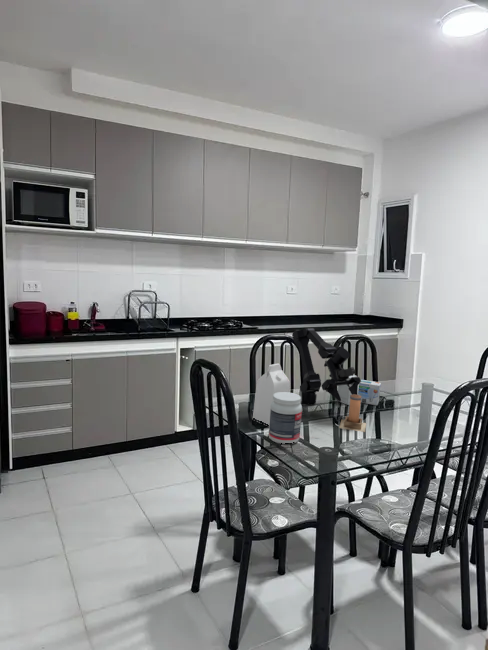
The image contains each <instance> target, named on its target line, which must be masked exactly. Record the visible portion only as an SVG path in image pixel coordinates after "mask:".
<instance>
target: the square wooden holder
mask: <svg viewBox="0 0 488 650" xmlns="http://www.w3.org/2000/svg"><path fill="white" fill-rule="evenodd" d="M348 418H349V415H345V418H344V419H340V424H339V426H338V427H339V429H342V430H349V431H355V432H361V433H366V427H367V423H366V422H363V418H360V417H359V423H354V422H348Z"/></svg>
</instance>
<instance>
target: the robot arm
mask: <svg viewBox="0 0 488 650" xmlns="http://www.w3.org/2000/svg"><path fill="white" fill-rule="evenodd" d="M291 338H292V340H293V342H294V345H296V346H297V347H298V350H299V354H300V358H301V363H302V367H303V372H304V376H303V378H302V381H303V382H302V383H301V384H300V385H299V391H300V392H302V396H301V402H300V404H301V405H302V404H303V405H309V406H315V404H316V403H317V397H318V395H317V392H320V389H321V390H322V391H325V393H326V392H327V393H329V394H330V395H331V396H333V398H335V399H336V401H337V400H338V401H337V402H339V403H341V402H340V401H341V398H340V396H339V393H338V386H339V385H347V386H348V387H349V388H348V389H349V391H350V392H351V394H352V395H353V394H354V395H358V387H359V383H360V382H361V380H362V379H361V377H359V376H357V377H352V378H351V379H350V380H346V379H348V378H349V376H353V375H355V374H356V369H355V367H354V366H351V367H348V368H342V365H343V364H344V363H346V362H347V360H348V359H349V358H350V356H351V354H350V352H349V350H347V349H346V348H344V347H343V346H338V347H337V348H336V347H335V346H333V344H331V343H328V342H326V340H324V339H323V337H321V336H320V335H319V334H318V332H317V331H316V329H315V328H313V327H305V328H302V329H295V330H294V331H293V332H292V335H291ZM310 341H311V343H312V344H313V345H314V346H315V347H316V348H317V353H318V355H319V357H320V358H321V359H325V361H324V365H323V367H327V368H328V371H329V373H330V374H329V378H328V379H325V380H324V382H323V383H322V382H321V381H322V380H321V375H320V374H319V373H317V372H315V370H314V369H315V368H314V364H313V361H312V356H311V353H310V348H309V343H310ZM326 359H327V360H326Z"/></svg>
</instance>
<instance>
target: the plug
mask: <svg viewBox="0 0 488 650" xmlns="http://www.w3.org/2000/svg"><path fill="white" fill-rule="evenodd" d="M361 399H362V396H360V395H358V394H357V395H354V394H353V395H350V405H349V407H348V408H349V410H348V417H349V418H348V422H354V423H359V418H360V413H361Z"/></svg>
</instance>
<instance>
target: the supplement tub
mask: <svg viewBox="0 0 488 650" xmlns="http://www.w3.org/2000/svg"><path fill="white" fill-rule="evenodd" d="M273 400H274V401H273V402H272V403H271V406H270V421H269V426H268V437H269V439H270V440H271V441H272V442H275V443H277V444H281V443H282V445H286V444H285V443H292V444H294V443H293V442H295V443H297V442H299V441H300V438H301V428H302V427H301V425H302V414H303V412H302V411H303V406H302V403H301V402H302V396H301V395H299V394H297V393H293V392H291V391H290V392H278V393H275V394H274V395H273Z"/></svg>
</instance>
